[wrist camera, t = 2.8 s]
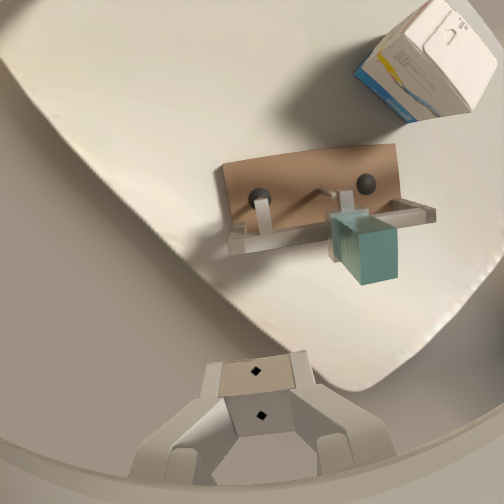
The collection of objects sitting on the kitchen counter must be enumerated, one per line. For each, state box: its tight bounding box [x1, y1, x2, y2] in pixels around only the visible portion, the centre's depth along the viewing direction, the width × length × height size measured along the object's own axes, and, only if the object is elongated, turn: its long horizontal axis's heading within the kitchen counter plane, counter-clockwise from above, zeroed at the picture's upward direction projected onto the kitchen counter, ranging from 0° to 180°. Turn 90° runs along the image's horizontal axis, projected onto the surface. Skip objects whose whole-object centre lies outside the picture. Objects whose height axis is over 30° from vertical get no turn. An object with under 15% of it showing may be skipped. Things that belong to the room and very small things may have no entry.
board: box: [222, 144, 436, 256], centre depth 25 cm, size 8×18×8 cm, turn 100°
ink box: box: [354, 0, 498, 123], centre depth 19 cm, size 9×8×12 cm
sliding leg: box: [318, 187, 398, 285], centre depth 21 cm, size 5×3×13 cm, turn 10°
